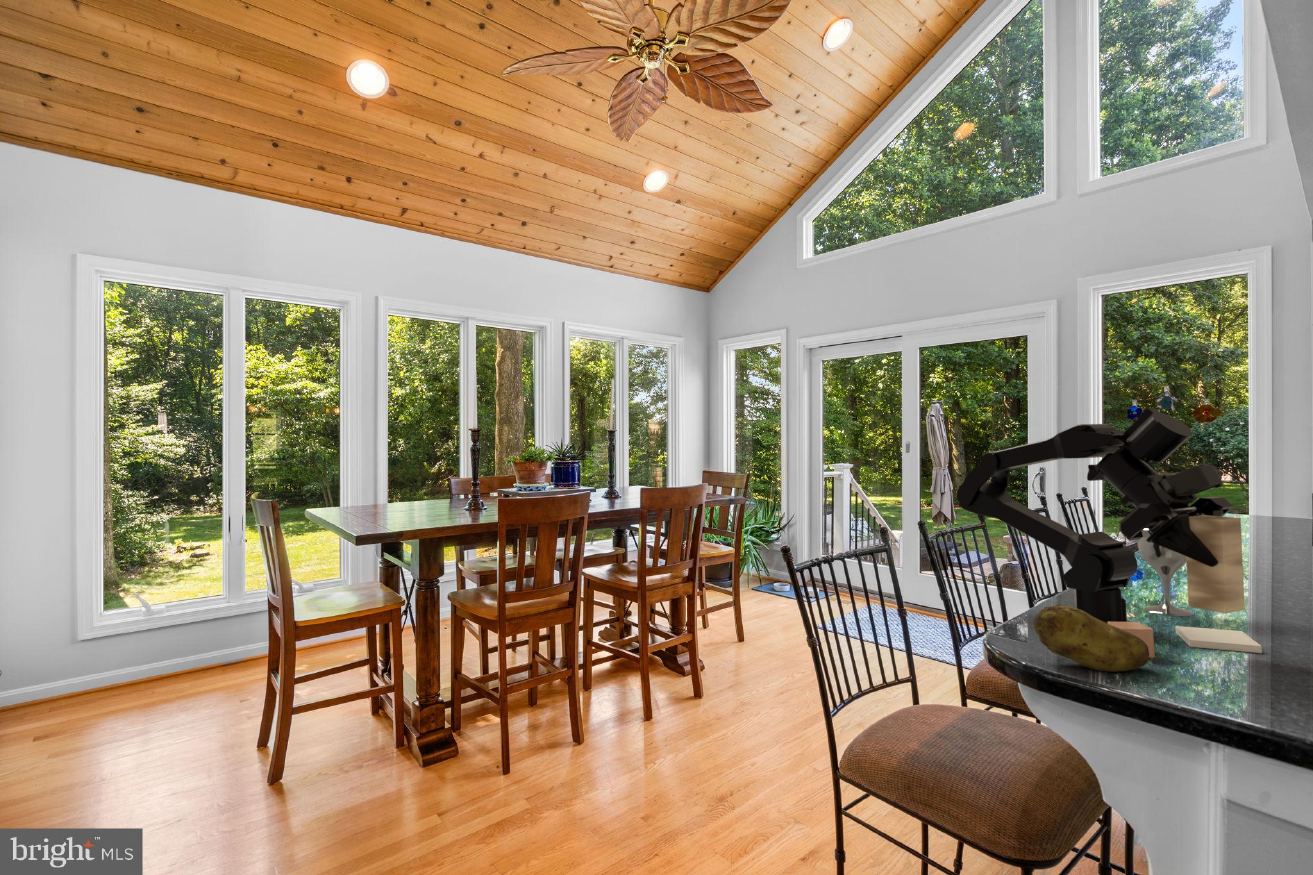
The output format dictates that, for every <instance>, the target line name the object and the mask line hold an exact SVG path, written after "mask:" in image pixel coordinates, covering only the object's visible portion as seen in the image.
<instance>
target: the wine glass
mask: <svg viewBox="0 0 1313 875" xmlns="http://www.w3.org/2000/svg"><path fill="white" fill-rule="evenodd" d="M1149 530H1150V528H1149V527H1148V526H1147V527H1146V528H1144V529H1143V530H1142V531H1141V532H1142V534H1143V537H1142V538H1141V539H1139V540H1136V543H1137V548H1138V550H1139V554H1140V556H1141V558H1142V559H1143V560H1144V561H1145V562H1146V563H1147V564H1148V566H1150V567H1151V568H1152V569H1153V570H1154V571H1155V572H1156V573H1157V575H1158V576H1159V578H1160V579H1161V580H1160V581H1161V584H1162V589H1163V595H1164V596H1163V598H1164V602H1163V603H1162V604H1159V605H1147V606H1144V607H1142V610H1143V611H1145V612H1148V613H1151V614H1155V615H1161V616H1169V617H1191V616H1194V615H1195V613H1194V612H1193V611H1191V610H1189V609H1185V608H1181V607H1177V606H1174V605H1173V604H1172V603H1171V595H1170V593H1171V583H1172V579H1173V577H1174V575H1175V574H1176V573H1177V572H1178V571H1179V570H1180V569H1181V568H1182V567H1183V566H1185V565H1187V563H1186V556H1184V555H1182V554H1180V553H1177V552H1175V551H1172V550H1170V549H1167V548H1165V547H1162V546H1160V545H1157V544H1155V543H1149V542H1147V541H1146V539H1147V538H1148V537H1150V536H1151V535H1152V533H1151V532H1150V531H1149Z"/></svg>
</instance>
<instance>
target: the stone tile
mask: <svg viewBox="0 0 1313 875" xmlns="http://www.w3.org/2000/svg"><path fill="white" fill-rule="evenodd" d="M1175 633H1176V634H1177V635H1178V636H1179V638H1180V639H1182V640H1183V641H1184V643H1186V644H1187V645H1188V646H1189V648H1201V649H1211V650H1213V649H1214V650H1224V651H1232V652H1233V651H1234V652H1236V651H1237V652H1246V653H1257V654H1262V653H1263V647H1262V645H1261V644H1259V643H1258V642H1257V641H1255V640H1253V638H1251V637H1250V636H1249V635H1248V634H1246V633H1245V632H1243V631H1242V630H1230V629H1221V628H1220V629H1219V628H1208V627H1207V628H1205V627H1195V626H1194V627H1193V626H1181V625H1175Z"/></svg>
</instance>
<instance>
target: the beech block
mask: <svg viewBox="0 0 1313 875" xmlns="http://www.w3.org/2000/svg"><path fill="white" fill-rule="evenodd" d="M1241 522H1242V519H1241V517H1232V516H1231V517H1230V516H1222V517H1220V516H1207V515H1201V516H1191V517H1189V524H1190V529H1191V531H1192V532H1193V533H1194V534H1195V535H1196V536H1197V537H1198V538H1199V540H1200V541H1201V542H1202V543H1203V544H1204V545H1205V546H1206V547H1207V549H1208V550H1209V551H1210V552H1211V553H1212V554H1213V556H1214V557H1215V558H1216V559H1217V561H1218V564H1217V565H1215V566H1214V567H1210V566H1208V565H1205V564H1203V563H1201V562H1198V561H1196V560H1194V559H1191V558H1189V557H1187V556H1186V580H1187V602H1188V604H1187V605H1188V607H1189V608H1190V607H1191V608H1196V609H1200V610H1205V611H1211V612H1216V613H1220V614H1221V613H1222V614H1230V613H1235V612H1239V611H1240V612H1241V611H1245V609H1246V605H1245V604H1246V603H1245V587H1244V586H1245V585H1244V583H1245V582H1244V566H1243V563H1244V561H1243V543H1242V540H1243V539H1242V524H1241Z"/></svg>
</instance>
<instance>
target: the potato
mask: <svg viewBox="0 0 1313 875" xmlns="http://www.w3.org/2000/svg"><path fill="white" fill-rule="evenodd" d="M1033 627H1034V629H1035V633H1037V635H1038V638H1039V640H1040V642H1041V644H1043V645H1044V646H1045V647H1046V648H1047V650H1049V651H1050V652H1051V653H1053V654H1055V655H1059V656H1061V657H1064V658H1067V659H1069V660H1072V661H1073V662H1075V663H1077V664H1078V665H1081V666H1083V667H1085V668H1088V669H1090V670H1097V671H1101V672H1129V671H1132V670H1137V669H1140V668H1142V667H1144V666H1145V665H1146V664H1147V663H1149V662H1148V661H1149V658H1150V657H1149V649H1148V646H1147V645H1146V643H1145V642H1144V641H1143V640H1142V639H1140V638H1139V637H1137V636H1136V635H1134V634H1132V633H1129V632H1127V631H1125V630H1123V629H1120V628H1117V627H1115V626H1112V625H1109V624H1107V623H1105V622H1103V621H1100V620H1098V619H1096V618H1095V617H1093V616H1091V615H1089V614H1088V613H1086V612H1084V611H1082V610H1079V609H1077V608H1075V607H1072V606H1066V605H1060V604H1056V605H1050V606H1045V607H1043V609H1040V610H1039V612H1038V613H1036V615H1035V616H1034V618H1033Z"/></svg>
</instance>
